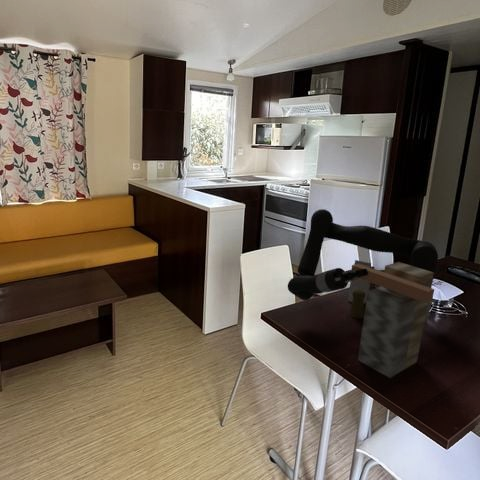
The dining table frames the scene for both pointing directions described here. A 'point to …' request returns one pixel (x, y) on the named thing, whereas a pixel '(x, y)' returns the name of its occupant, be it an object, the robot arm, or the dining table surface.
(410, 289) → the block
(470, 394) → the dining table surface
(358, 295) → the olive cylinder
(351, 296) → the milk carton
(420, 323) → the stepped stand
